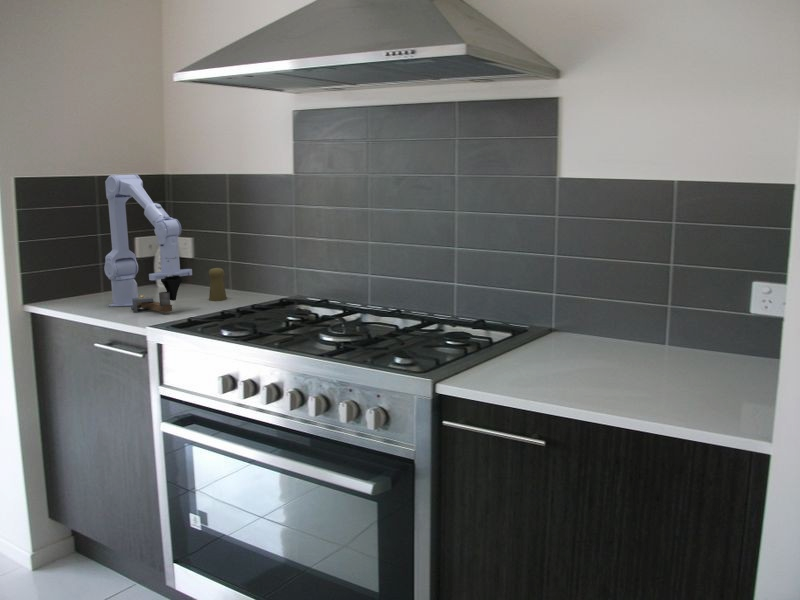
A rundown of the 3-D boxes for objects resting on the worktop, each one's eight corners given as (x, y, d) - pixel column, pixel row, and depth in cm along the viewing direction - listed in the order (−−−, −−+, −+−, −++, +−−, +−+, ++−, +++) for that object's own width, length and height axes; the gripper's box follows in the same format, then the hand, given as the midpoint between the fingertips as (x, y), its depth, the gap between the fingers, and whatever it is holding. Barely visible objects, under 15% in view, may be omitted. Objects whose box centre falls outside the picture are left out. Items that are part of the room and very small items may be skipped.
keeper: (133, 311, 258) (132, 298, 258) (153, 309, 260) (153, 297, 260) (133, 312, 256) (132, 299, 255) (154, 311, 258) (153, 298, 257)
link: (132, 306, 262) (131, 288, 261) (144, 304, 266) (143, 286, 265) (162, 312, 250) (161, 294, 249) (175, 310, 253) (173, 292, 252)
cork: (216, 301, 274) (215, 269, 272) (205, 300, 277) (203, 268, 275) (230, 299, 278) (228, 267, 276) (219, 297, 282) (217, 266, 280)
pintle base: (135, 306, 266) (134, 293, 265) (156, 306, 266) (155, 293, 265) (128, 310, 259) (127, 297, 259) (149, 310, 259) (148, 297, 258)
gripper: (156, 261, 244) (159, 304, 247) (196, 256, 255) (199, 298, 258) (144, 259, 249) (147, 302, 251) (183, 254, 260) (186, 296, 262)
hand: (172, 300), depth 255 cm, fingers closed
